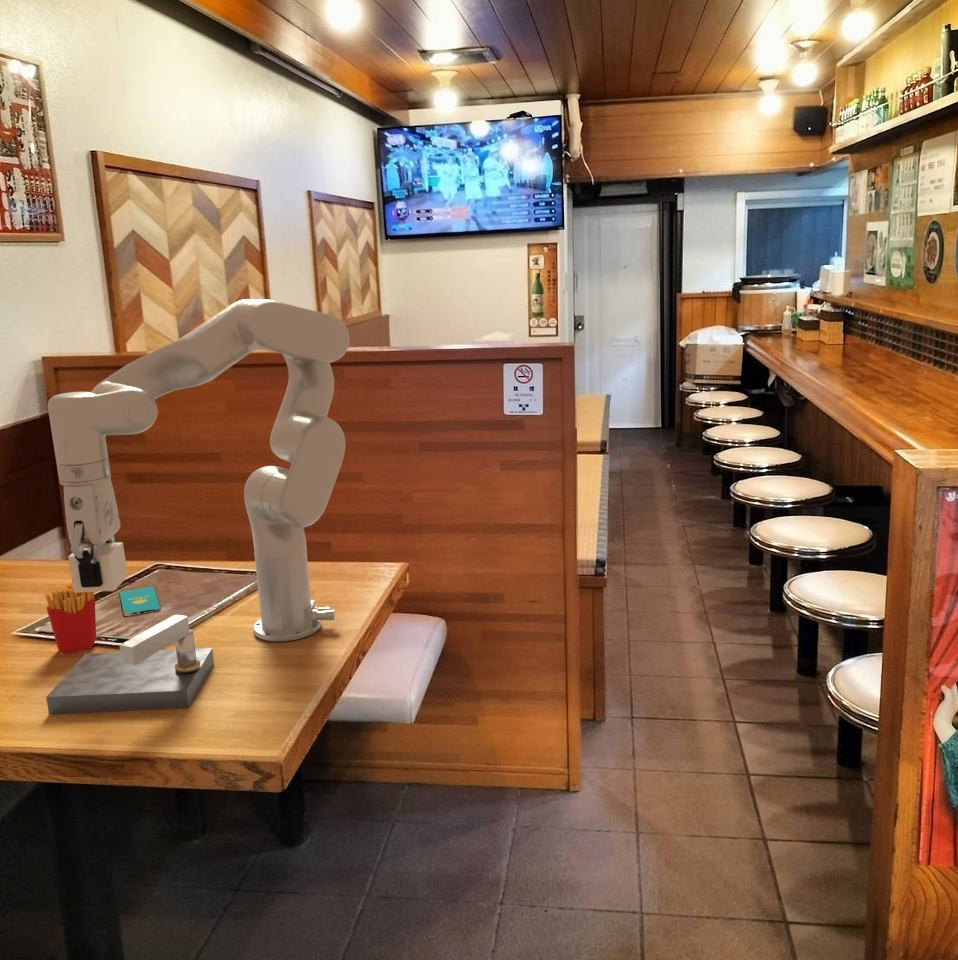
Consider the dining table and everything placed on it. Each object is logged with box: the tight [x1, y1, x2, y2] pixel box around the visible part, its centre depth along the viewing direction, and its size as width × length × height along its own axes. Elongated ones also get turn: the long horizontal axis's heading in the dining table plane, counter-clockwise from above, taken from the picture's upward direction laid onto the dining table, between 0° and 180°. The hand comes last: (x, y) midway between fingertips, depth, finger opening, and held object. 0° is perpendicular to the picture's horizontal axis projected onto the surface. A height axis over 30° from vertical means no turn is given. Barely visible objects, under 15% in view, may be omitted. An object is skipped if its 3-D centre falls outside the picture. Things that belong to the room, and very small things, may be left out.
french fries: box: [44, 582, 97, 654], centre depth 168 cm, size 8×4×12 cm, turn 129°
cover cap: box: [67, 541, 129, 593], centre depth 148 cm, size 6×6×6 cm
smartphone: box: [119, 586, 162, 614], centre depth 191 cm, size 7×1×15 cm
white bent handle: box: [119, 614, 200, 673], centre depth 146 cm, size 14×4×9 cm, turn 157°
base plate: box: [45, 647, 215, 715], centre depth 152 cm, size 22×16×3 cm
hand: (100, 577), depth 148 cm, fingers closed on cover cap, 6 cm apart
